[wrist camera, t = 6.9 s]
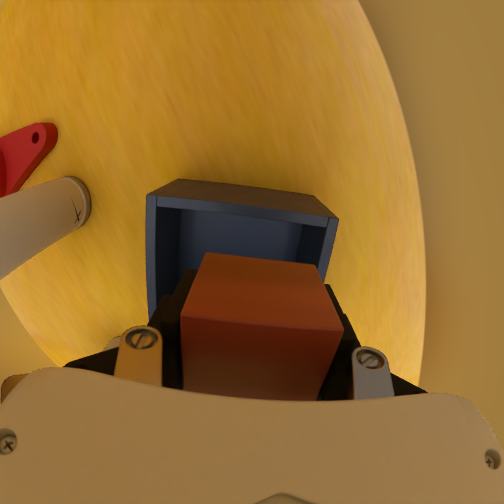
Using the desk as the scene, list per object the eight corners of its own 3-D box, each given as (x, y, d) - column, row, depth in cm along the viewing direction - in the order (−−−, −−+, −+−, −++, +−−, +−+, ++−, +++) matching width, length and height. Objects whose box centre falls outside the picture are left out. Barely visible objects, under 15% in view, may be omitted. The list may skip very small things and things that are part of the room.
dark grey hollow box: (177, 178, 27) (146, 194, 18) (314, 195, 27) (339, 218, 19) (173, 304, 32) (151, 353, 24) (288, 318, 33) (297, 371, 24)
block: (205, 251, 11) (179, 313, 7) (315, 264, 11) (345, 329, 7) (201, 338, 13) (183, 412, 9) (293, 347, 13) (306, 421, 9)
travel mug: (102, 205, 27) (-38, 292, 9) (71, 237, 29) (-46, 329, 10) (74, 162, 26) (-75, 210, 7) (45, 198, 27) (-81, 263, 8)
